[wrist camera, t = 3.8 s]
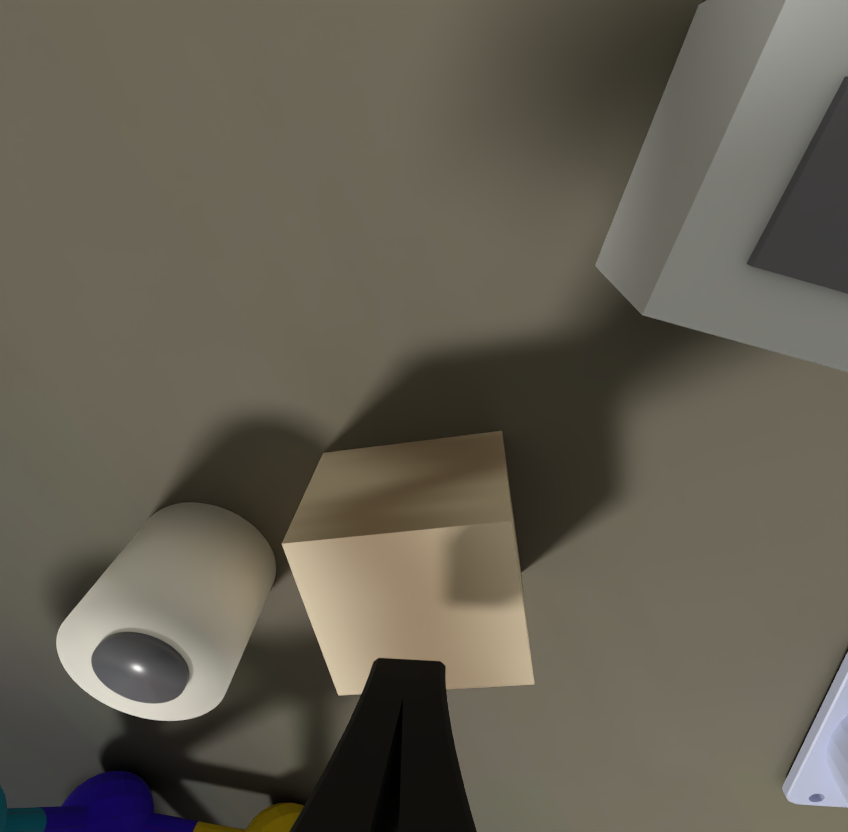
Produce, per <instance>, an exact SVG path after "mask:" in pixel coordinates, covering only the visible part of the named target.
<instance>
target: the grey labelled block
mask: <svg viewBox="0 0 848 832" xmlns="http://www.w3.org/2000/svg"><path fill="white" fill-rule="evenodd" d="M595 266H596V267H597V269H598V270H599V271H600V272H601V273H602V274H603V275H604V276H605V277H606V278H607V279H608V280H609V281H610V282H611V283H612V284H613V285H614V286H615V287H616V288H617V289H618V291H619V292H620V293H621V294H622V295H623V296H624V297H625V298H626V299H627V300H628V301H629V302H630V303H631V304H632V305H633V306H634V307H635V308H636V309H637V310H638V311H639V313H640V314H641V315H643V316H647V317H651V318H654V319H658V320H661V321H665V322H669V323H672V324H676V325H679V326H683V327H687V328H690V329H694V330H697V331H701V332H705V333H708V334H712V335H716V336H719V337H723V338H726V339H730V340H734V341H737V342H741V343H744V344H748V345H752V346H755V347H759V348H762V349H766V350H770V351H773V352H777V353H780V354H784V355H788V356H791V357H795V358H799V359H802V360H806V361H809V362H813V363H817V364H820V365H824V366H827V367H831V368H835V369H838V370H842V371H845V372H848V0H706V1H704V2H703V3H701V4H699V5H698V8H697V10H696V13H695V15H694V18H693V20H692V23H691V25H690V28H689V30H688V33H687V35H686V38H685V40H684V43H683V45H682V48H681V50H680V53H679V55H678V58H677V60H676V63H675V65H674V68H673V70H672V73H671V75H670V78H669V81H668V83H667V86H666V88H665V91H664V93H663V96H662V98H661V101H660V103H659V106H658V108H657V111H656V113H655V116H654V118H653V121H652V123H651V126H650V128H649V131H648V133H647V136H646V138H645V141H644V143H643V146H642V148H641V151H640V153H639V156H638V158H637V161H636V163H635V166H634V169H633V171H632V174H631V176H630V179H629V181H628V184H627V186H626V189H625V191H624V194H623V196H622V199H621V201H620V204H619V206H618V209H617V211H616V214H615V216H614V219H613V221H612V224H611V226H610V229H609V231H608V234H607V236H606V239H605V241H604V244H603V246H602V249H601V252H600V254H599V257H598V259H597V262H596V264H595Z"/></svg>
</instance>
